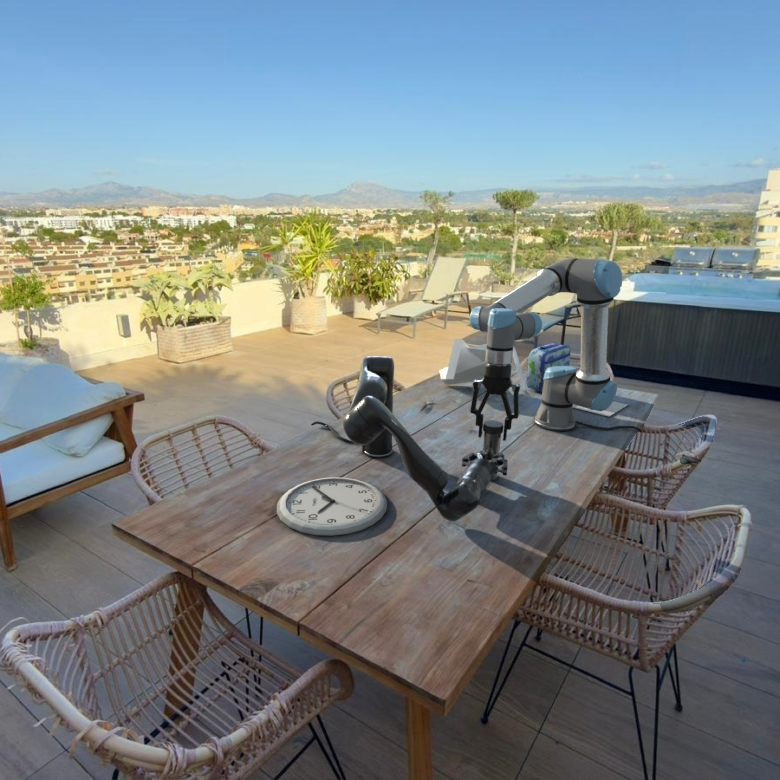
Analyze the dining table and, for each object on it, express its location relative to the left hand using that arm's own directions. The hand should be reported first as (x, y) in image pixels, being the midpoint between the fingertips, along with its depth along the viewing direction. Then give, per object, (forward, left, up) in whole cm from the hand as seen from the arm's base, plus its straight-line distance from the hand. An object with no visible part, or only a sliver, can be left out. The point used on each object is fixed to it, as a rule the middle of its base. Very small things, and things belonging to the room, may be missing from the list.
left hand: (492, 454), depth 161 cm
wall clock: (-33, -40, -6) cm, 52 cm away
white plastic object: (-27, +80, -6) cm, 84 cm away
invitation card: (+26, +85, -6) cm, 89 cm away
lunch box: (-1, +103, -6) cm, 103 cm away
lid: (0, -3, +11) cm, 11 cm away
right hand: (0, -3, +7) cm, 7 cm away
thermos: (0, -3, -6) cm, 7 cm away
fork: (-42, +49, -6) cm, 65 cm away
